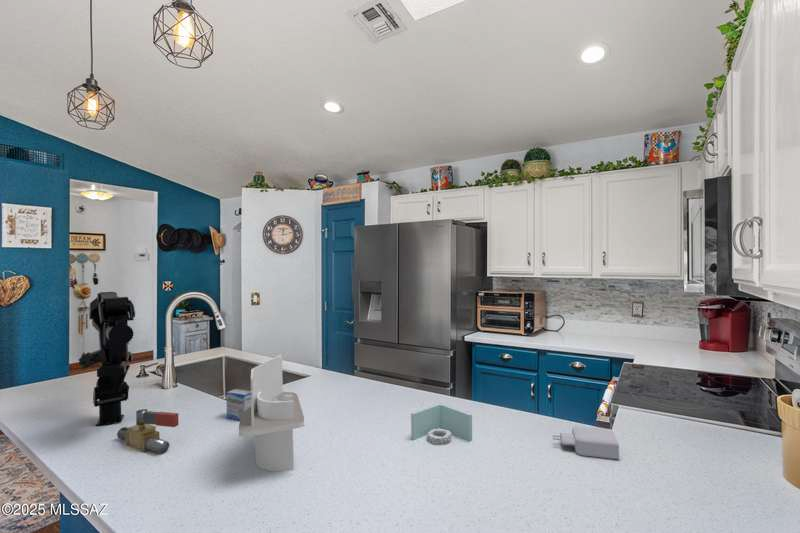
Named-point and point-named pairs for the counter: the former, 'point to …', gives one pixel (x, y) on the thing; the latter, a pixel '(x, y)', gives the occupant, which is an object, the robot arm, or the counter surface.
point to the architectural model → (271, 417)
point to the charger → (591, 442)
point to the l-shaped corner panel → (441, 424)
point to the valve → (143, 438)
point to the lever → (156, 418)
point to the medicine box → (237, 403)
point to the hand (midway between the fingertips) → (116, 392)
